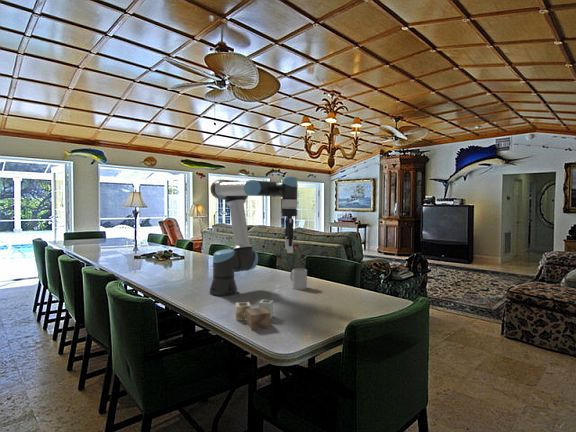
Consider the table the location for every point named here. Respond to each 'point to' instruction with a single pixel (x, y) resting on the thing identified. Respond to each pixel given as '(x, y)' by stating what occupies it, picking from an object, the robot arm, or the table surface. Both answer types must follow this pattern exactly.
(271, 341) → the table surface
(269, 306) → the pale square cup
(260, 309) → the walnut block
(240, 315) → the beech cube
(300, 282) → the mug
